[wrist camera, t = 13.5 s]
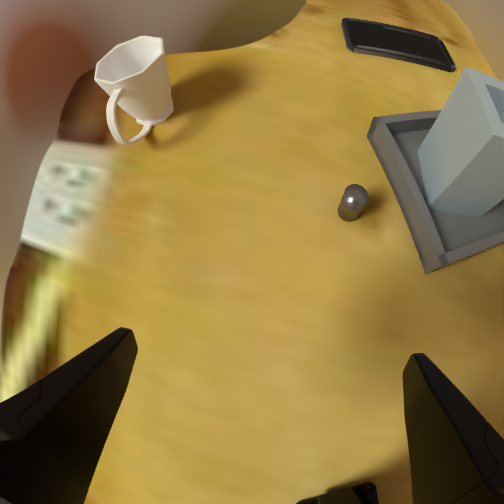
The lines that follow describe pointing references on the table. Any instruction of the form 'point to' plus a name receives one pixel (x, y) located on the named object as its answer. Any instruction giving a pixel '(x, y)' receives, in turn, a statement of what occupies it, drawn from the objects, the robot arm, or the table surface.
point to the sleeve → (466, 148)
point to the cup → (136, 84)
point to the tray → (413, 197)
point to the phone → (396, 43)
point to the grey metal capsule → (352, 202)
